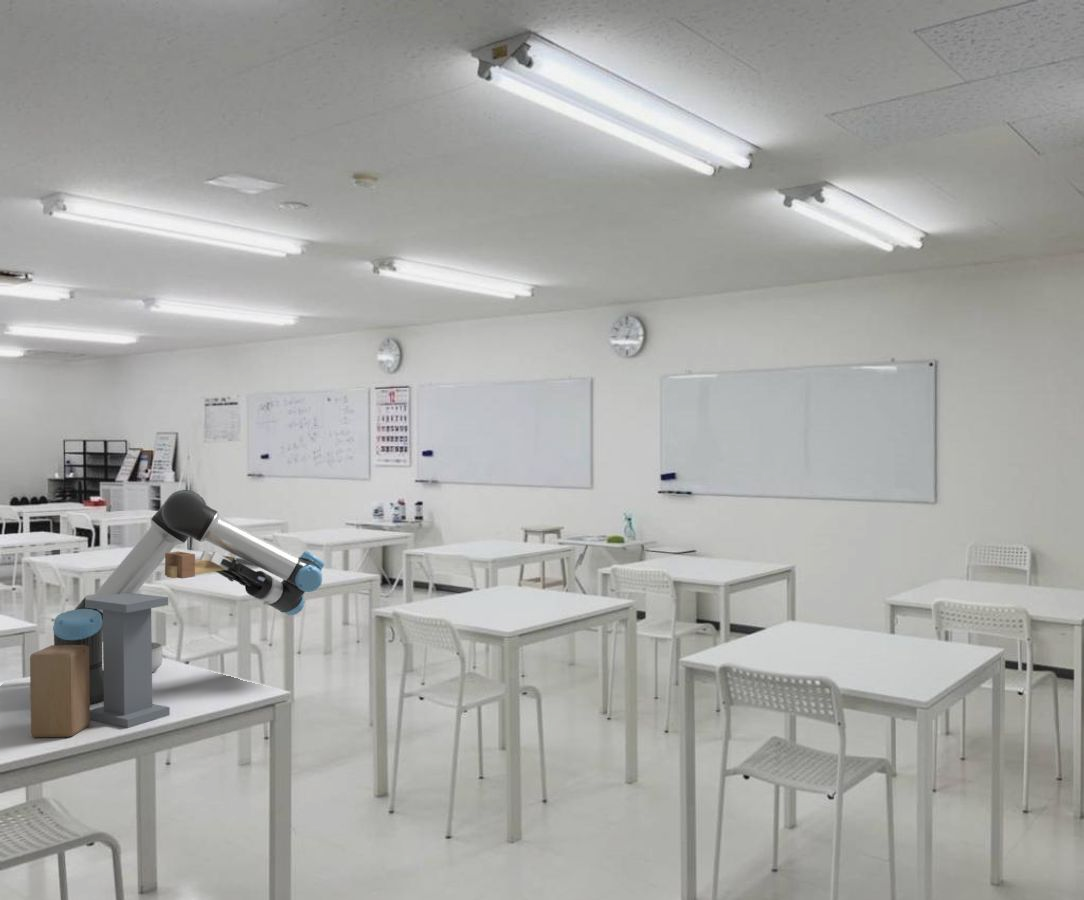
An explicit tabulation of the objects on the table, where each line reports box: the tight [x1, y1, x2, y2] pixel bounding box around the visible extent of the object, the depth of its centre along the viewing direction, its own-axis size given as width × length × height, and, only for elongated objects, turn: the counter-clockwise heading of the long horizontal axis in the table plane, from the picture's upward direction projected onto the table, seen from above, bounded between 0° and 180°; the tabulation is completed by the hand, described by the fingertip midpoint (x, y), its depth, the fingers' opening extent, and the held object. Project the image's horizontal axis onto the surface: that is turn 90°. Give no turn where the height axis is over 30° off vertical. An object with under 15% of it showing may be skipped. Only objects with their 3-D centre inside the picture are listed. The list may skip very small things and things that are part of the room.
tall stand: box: [85, 593, 171, 729], centre depth 233 cm, size 16×12×30 cm
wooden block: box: [29, 644, 91, 739], centre depth 221 cm, size 10×10×20 cm
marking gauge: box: [164, 551, 236, 579], centre depth 253 cm, size 7×20×6 cm, turn 149°
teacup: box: [152, 641, 163, 673], centre depth 279 cm, size 14×11×8 cm
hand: (207, 556), depth 254 cm, fingers closed on marking gauge, 3 cm apart
